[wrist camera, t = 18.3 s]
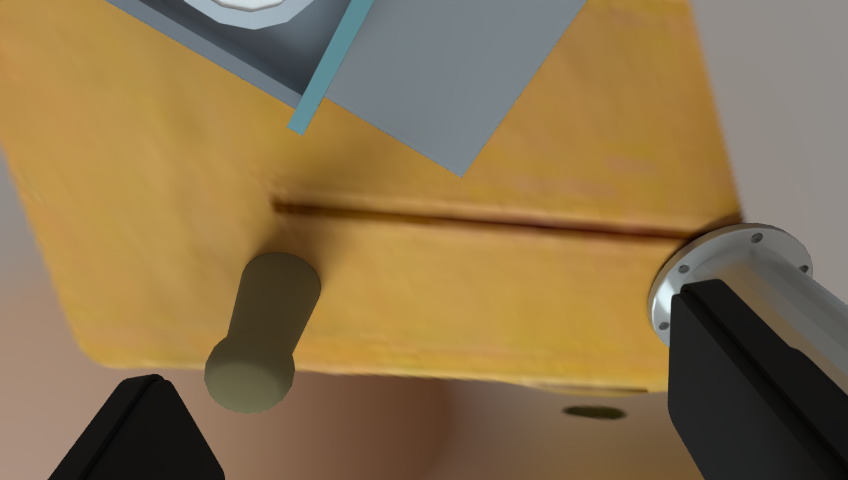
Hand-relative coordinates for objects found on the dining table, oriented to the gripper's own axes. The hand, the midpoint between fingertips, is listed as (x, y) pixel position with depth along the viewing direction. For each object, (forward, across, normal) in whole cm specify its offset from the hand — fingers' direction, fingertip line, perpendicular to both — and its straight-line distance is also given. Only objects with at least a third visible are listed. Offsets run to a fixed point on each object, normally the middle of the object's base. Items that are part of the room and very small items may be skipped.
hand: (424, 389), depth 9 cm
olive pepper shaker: (+26, +13, +12) cm, 31 cm away
